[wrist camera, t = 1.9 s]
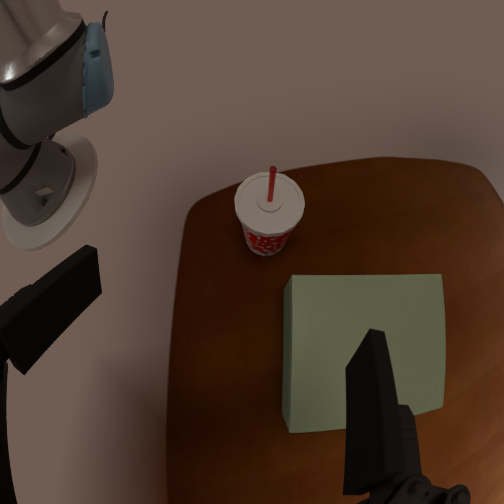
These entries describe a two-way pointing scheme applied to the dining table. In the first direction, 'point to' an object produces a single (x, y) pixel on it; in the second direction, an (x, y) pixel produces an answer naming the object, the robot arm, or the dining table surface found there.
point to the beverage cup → (268, 210)
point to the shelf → (359, 342)
